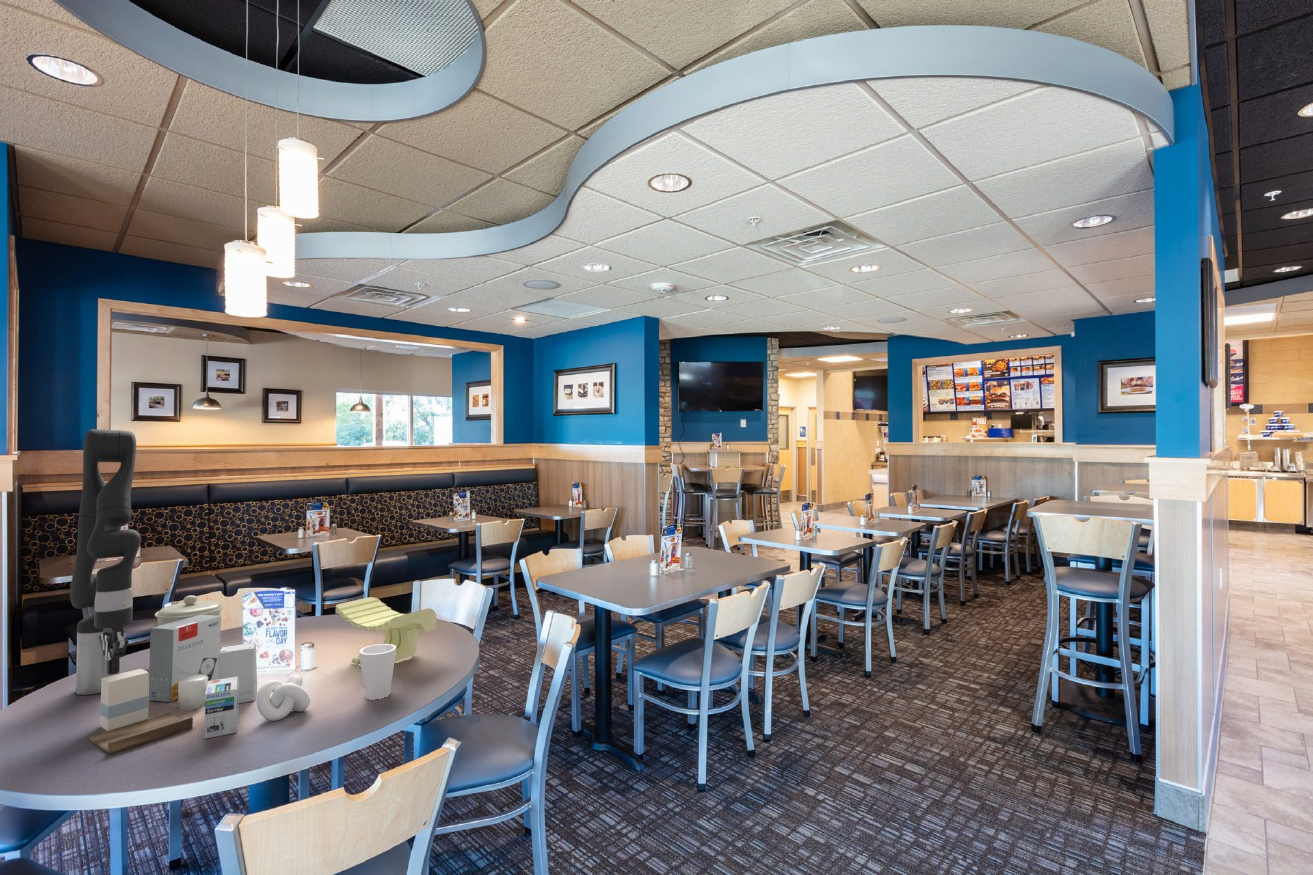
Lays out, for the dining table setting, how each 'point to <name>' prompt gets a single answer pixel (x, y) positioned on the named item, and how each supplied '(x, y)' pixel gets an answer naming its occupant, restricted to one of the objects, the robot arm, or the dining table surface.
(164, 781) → the dining table surface
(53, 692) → the dining table surface
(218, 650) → the hard drive box
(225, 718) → the light bulb box
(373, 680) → the foam cup
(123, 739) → the walnut display plinth
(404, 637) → the slatted curved stool
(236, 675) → the skincare box
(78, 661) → the robot arm
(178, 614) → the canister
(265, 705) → the white knot sculpture
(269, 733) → the dining table surface
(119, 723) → the cream carton
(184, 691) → the white cylinder
